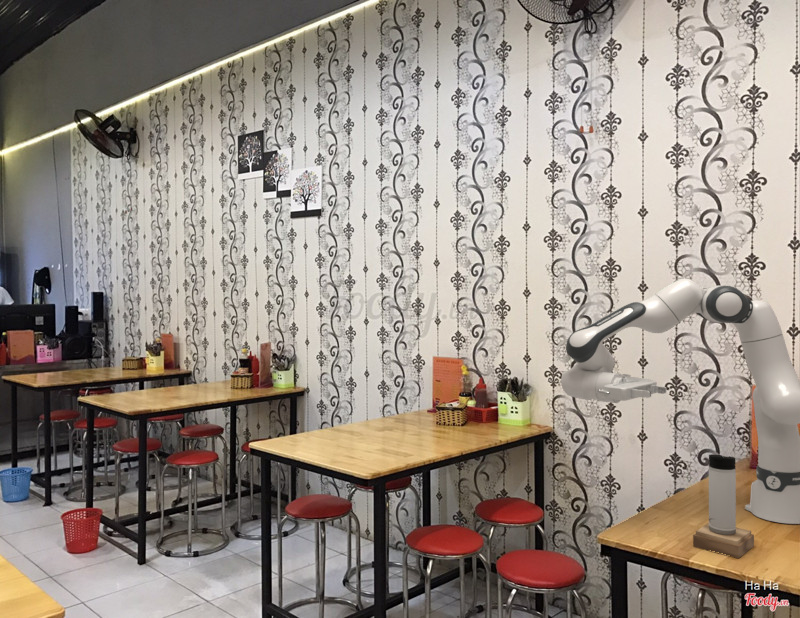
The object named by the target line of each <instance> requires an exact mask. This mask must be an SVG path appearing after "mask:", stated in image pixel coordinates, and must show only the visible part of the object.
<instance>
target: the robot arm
mask: <svg viewBox="0 0 800 618" xmlns="http://www.w3.org/2000/svg"><path fill="white" fill-rule="evenodd" d="M694 314H697V315H698V316H699V317H700V318H702V319H704V320H706V321H709V322H712V323H716V324H733V325H734V327H735V328H736V330H737V332H738V337H739V340H740V345H741V348H742V351H743V354H744V359H745V362H746V365H747V368H748V370H749V372H750V374H751V377H752V379H753V381H754V383H755V385H756V386H755V387H754V389H753V391H752V402H753V409H754V419H755V427H756V434H757V442H758V444H757V445H758V446H757V451H758V452H757V454H758V455H757V458H758V459H757V460H758V461H757V462H758V464H757V465H756V470H755V473H756V478H757V479H756V480H753V481H752V483H751V486H750V500H749V503H748V504H745V505H744V510H747V511H748V512H751V513H752V514H753V515H754V516H755V517H757V518H760V519H761V520H762V519H763V520H766V521H770V522H775V523H781V524H787V525H788V524H789V525H797V524H798V525H799V524H800V432H799V427H798V425H799V424H800V379H799V377H798V376H799V375H798V374H797V371H796V370H795V368H794V365H793V363H792V361H791V358H790V355H789V352H788V351H789V350H788V349H787V345H786V341H785V338H784V334H783V331H782V328H781V325H780V322H779V320H778V318H777V315H776V313H775V312H774V309H773V308H772V306H771V305H770V304H769V302H767V301H764V300H759V299H755V300H750V298H748V297H747V296H746V295H745V293H743V292H742V290H739V289H738V288H737V287H734V286H730V285H721V284H720V285H714V286H711V287H710V286H709V287H706V288H705V287H703V288H702V287H700V285H699V284H697V282H695V281H694V280H693V279H689V278H681V279H677V280H676V281H674V282H672V283H671V284H669V285H667V286H665V287H663V288H662V289H660V290H659V291H657V292H656V293H654V294H653V295H651V296H650V297H648V298H646V299H644V300H642V301H639V302H638V301H635V302H630V303H628V304H626V305H624V306H622V307H620V308H618V309H616V310H615V311H613V312H611V313H610V314H608V315H606V316H604V317H602V318H601V319H599V320H596V321H595V322H593V323H591V324H590V325H587V326H585V327H582V328H578V329H577V330H575V331H574V332H572V333H571V334H570V335H569V337H568V339H567V341H566V344H565V351H566V353H567V355H568V356H569V357H570V358H571V359H572V360H573V361H574V362H576V364H574V366H572V367H571V368H570V369H568V370H566V371H563V373H562V374H561V378H560V385H561V386H562V387H561V389H562V390H563V391H564V393H565V395H567V396H569V397H572V398H574V399H575V398H576V399H581V400H587V401H592V400H596V401H598V402H601V403H603V402H604V403H612V404H619V403H620V402H621V401H622V402H623V401H629V400H633V399H638V398H646V399H647V398H651V397H652V395H653V394H662V395H663V394H667V387H666V386H661V385H658V384H657V381H655V380H653V379H649V378H642V377H635V376H631V374H627V373H623V374H621V373H619V372H613V371H614V368H615V365H616V364H615V363H616V362H615V358H614V356H613V355H612V353H611V352H610V350H609V349H608V348H607V347H606V346H605V345H604V343H603V342H604V341H606V340H607V339H609V338H611V337H613V336H614V335H616V334H618V333H620V332H622V331H623V330H625V329H628V328H639V329H642V330H644V331H645V332H647V333H652V334H662V333H665V332H668V331H669V330H671V329H673V328H674V327H676V326H677V325H679V323H681V322H682V321H684V320H685V319H686V318H687V317H689V316H691V315H694Z"/></svg>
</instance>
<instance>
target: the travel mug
mask: <svg viewBox="0 0 800 618" xmlns="http://www.w3.org/2000/svg"><path fill="white" fill-rule="evenodd" d="M736 470H737V469H736V457H734V456H723V455H722V454H711V453H710V454H708V523H709V530H710V531H712V532H714V533H716V534H721V535H733V534H735V533H736V528H737V521H736V520H737V519H736V516H737V512H736V510H737V497H736V496H737V495H736V493H737V492H736V490H737V488H736V487H737V485H736V483H737V482H736V478H737V477H736V476H737V473H736Z"/></svg>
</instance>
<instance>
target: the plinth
mask: <svg viewBox="0 0 800 618" xmlns="http://www.w3.org/2000/svg"><path fill="white" fill-rule="evenodd" d="M692 540H693V541H692V544H693V545H692V546H695V547H694V548H697V547H698V548H697V549H701V548H702V549H701V550H704V549H706V551H708V550H711V551H710V552H712V551H715V552H714V553H716V552H719V553H723V554H726V555H725V556H727V555H730V556H729V557H731V556H733V557H732V558H734V557H736V558H735V559H737V560H738V559H740V558H742V557H743V556H745V554H746V553H747V552H749V551H750V550H751V549H752V548H754V547H755V534H752V531H751V530H748V529H744V528H740V527H736V533H735V534H733V535H721V534H716V533H714V532H712V531H710V530H709V522H708V523H707V524H705V525H704V526H702V527H700V528H698V529H697V530H695V533H694V534H693V535H692ZM719 553H718V554H719ZM723 554H722V555H723Z"/></svg>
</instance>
